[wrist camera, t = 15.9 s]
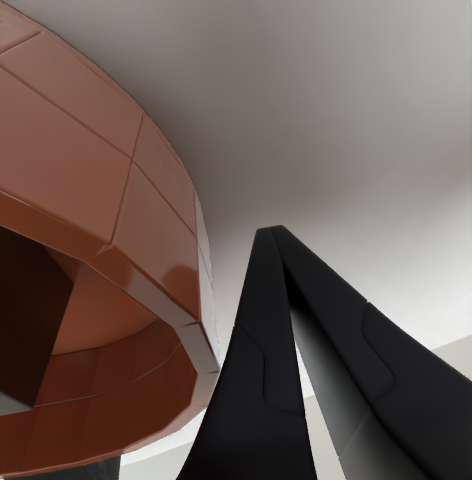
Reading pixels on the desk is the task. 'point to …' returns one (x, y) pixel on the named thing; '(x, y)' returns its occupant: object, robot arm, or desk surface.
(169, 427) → the bowl
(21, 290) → the block
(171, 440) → the desk surface
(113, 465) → the travel mug
